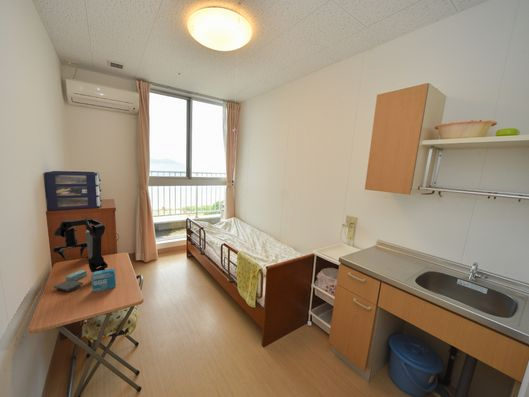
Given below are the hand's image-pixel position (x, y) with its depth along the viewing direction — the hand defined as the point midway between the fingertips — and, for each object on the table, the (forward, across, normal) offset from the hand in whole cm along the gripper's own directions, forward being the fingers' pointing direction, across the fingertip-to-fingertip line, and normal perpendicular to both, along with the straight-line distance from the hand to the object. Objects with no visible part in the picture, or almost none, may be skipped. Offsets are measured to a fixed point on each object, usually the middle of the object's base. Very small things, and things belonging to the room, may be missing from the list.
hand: (73, 257), depth 158 cm
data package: (+14, -20, +34) cm, 42 cm away
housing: (+13, -2, +8) cm, 16 cm away
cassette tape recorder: (+13, -7, -32) cm, 35 cm away
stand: (+13, 0, +21) cm, 25 cm away
